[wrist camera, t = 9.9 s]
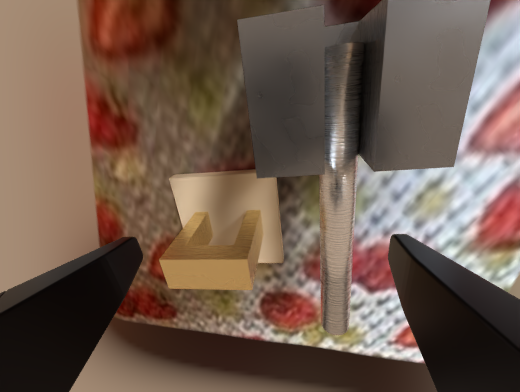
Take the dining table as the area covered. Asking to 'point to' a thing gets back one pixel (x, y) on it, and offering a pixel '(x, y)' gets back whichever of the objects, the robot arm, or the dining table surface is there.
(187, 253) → the tan u-shaped bracket
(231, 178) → the birch pad
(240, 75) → the dining table surface
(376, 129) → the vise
